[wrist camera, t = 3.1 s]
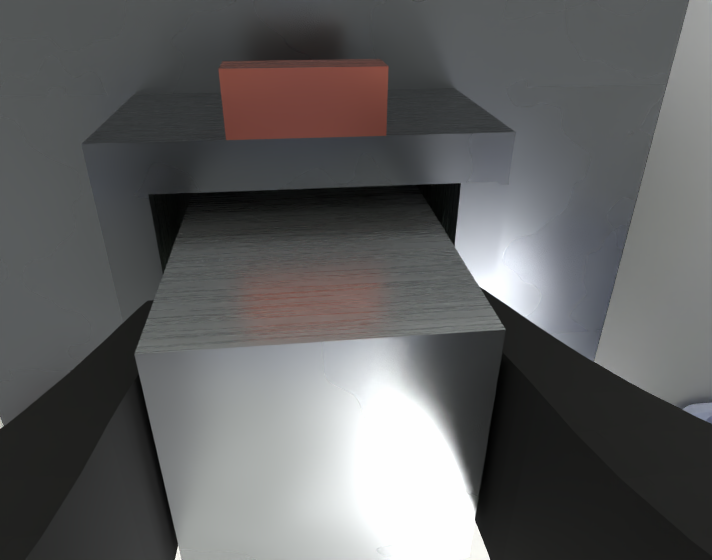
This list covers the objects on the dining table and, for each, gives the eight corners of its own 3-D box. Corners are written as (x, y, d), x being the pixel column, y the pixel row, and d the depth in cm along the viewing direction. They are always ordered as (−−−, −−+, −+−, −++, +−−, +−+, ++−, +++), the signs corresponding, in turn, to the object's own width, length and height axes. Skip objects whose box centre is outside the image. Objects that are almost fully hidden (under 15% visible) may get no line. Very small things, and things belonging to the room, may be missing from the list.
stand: (703, -183, 11) (939, -260, 7) (555, 432, 19) (628, 555, 15) (-211, -215, 9) (-566, -343, 5) (47, 476, 17) (-21, 629, 13)
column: (393, 135, 13) (515, 321, 6) (387, 293, 15) (475, 560, 8) (204, 140, 12) (122, 347, 6) (225, 303, 15) (181, 592, 8)
